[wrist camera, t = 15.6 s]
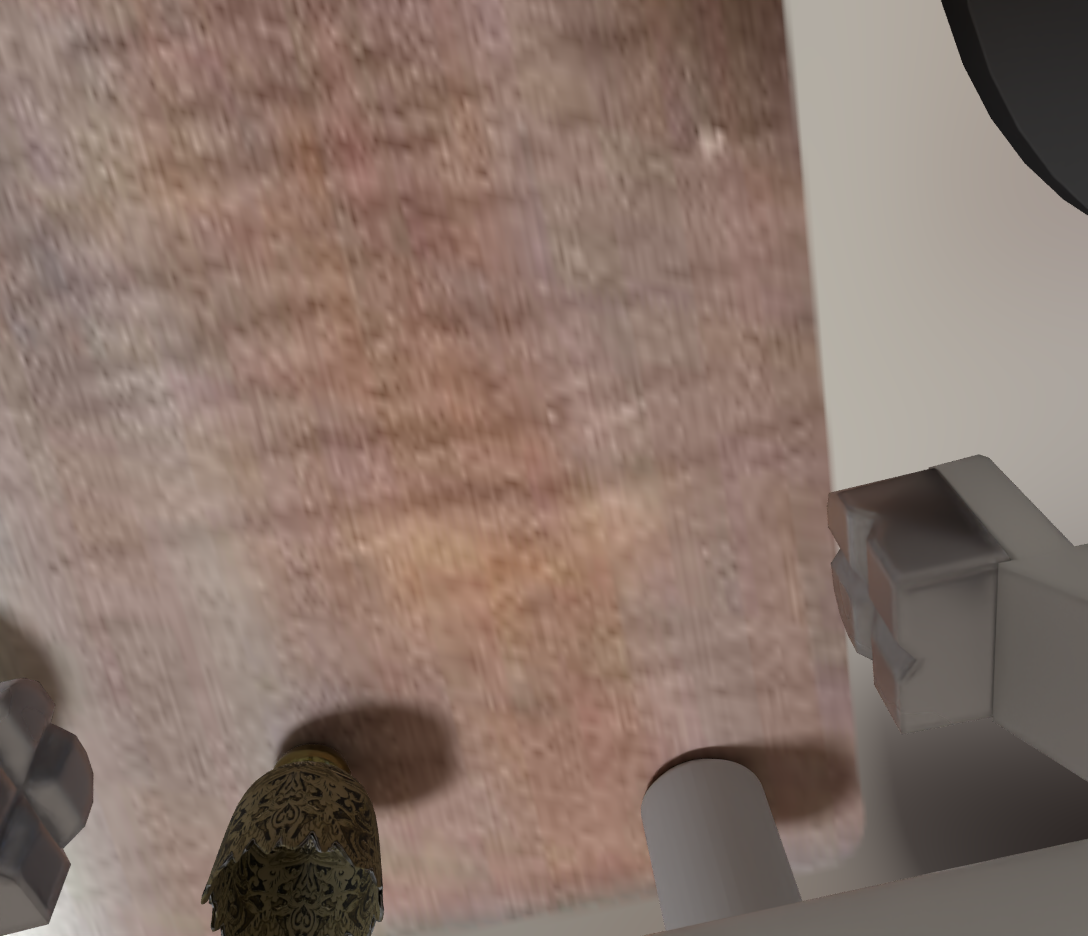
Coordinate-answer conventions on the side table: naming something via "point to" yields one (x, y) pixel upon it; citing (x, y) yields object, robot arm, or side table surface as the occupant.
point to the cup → (300, 853)
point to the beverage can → (714, 844)
